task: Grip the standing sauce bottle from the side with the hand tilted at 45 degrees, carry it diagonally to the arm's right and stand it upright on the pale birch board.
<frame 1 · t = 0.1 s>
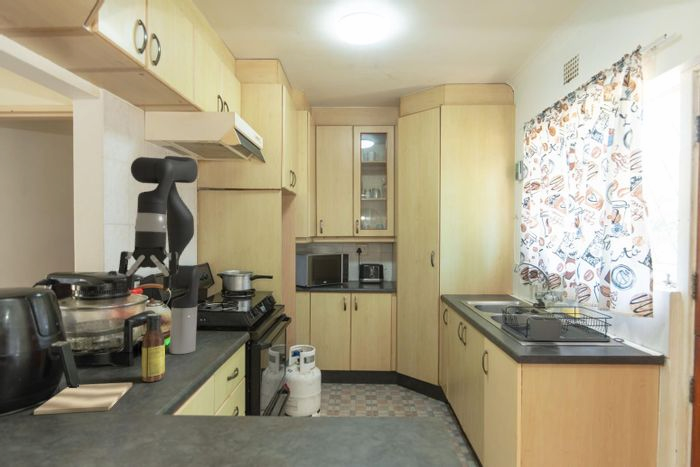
hand: (148, 290, 99), 29 cm above the countertop, tool pointing down, fingers open, 8 cm apart
sauce bottle: (152, 379, 112), on the countertop
birch board: (87, 398, 97), on the countertop
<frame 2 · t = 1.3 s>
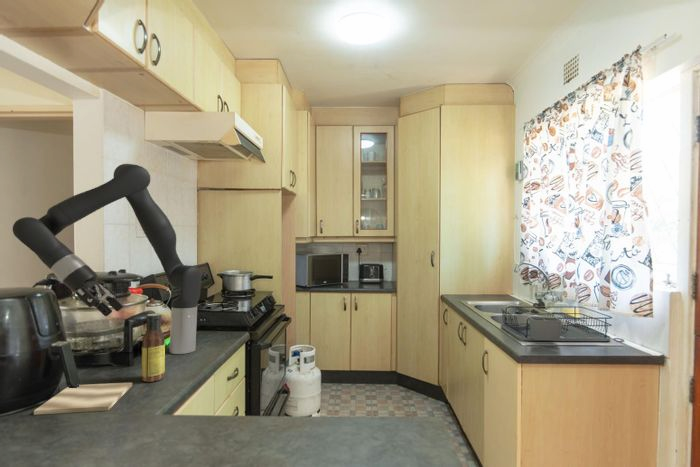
hand: (115, 311, 110), 21 cm above the countertop, tool tilted 45°, fingers open, 8 cm apart
nothing on the countertop moved.
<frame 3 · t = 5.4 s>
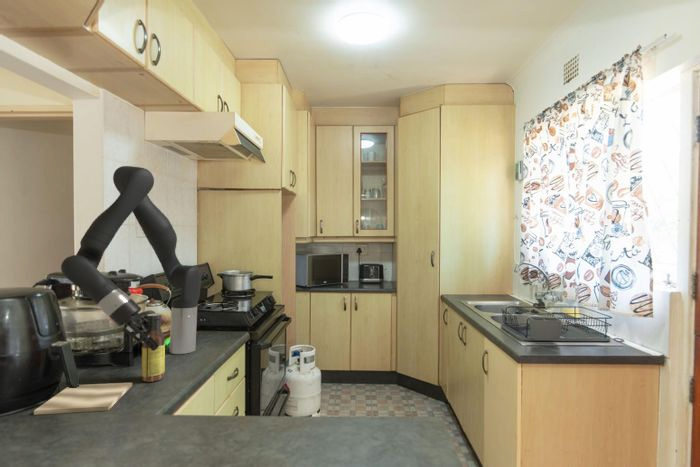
hand: (160, 345, 113), 10 cm above the countertop, tool tilted 45°, fingers closed on sauce bottle, 6 cm apart
sauce bottle: (152, 379, 112), on the countertop, touching gripper
when the fingers open (13 cm above the countertop, at t = 11.1 s): sauce bottle drops 1 cm, resting on birch board.
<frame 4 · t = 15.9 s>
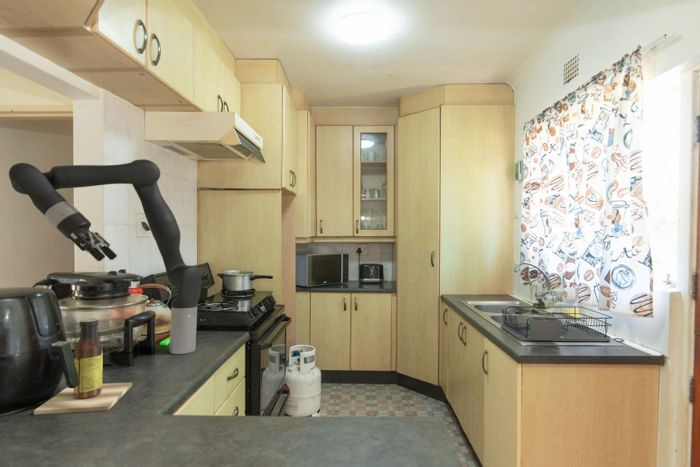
hand: (108, 258, 112), 37 cm above the countertop, tool tilted 45°, fingers open, 8 cm apart
sauce bottle: (87, 395, 97), point 1 cm above the countertop, touching birch board
at the end: sauce bottle inside the target area on the birch board (0.2 cm from its centre), point 0.8 cm above the birch board's base; sauce bottle tilted 0°; the gripper is holding nothing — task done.
